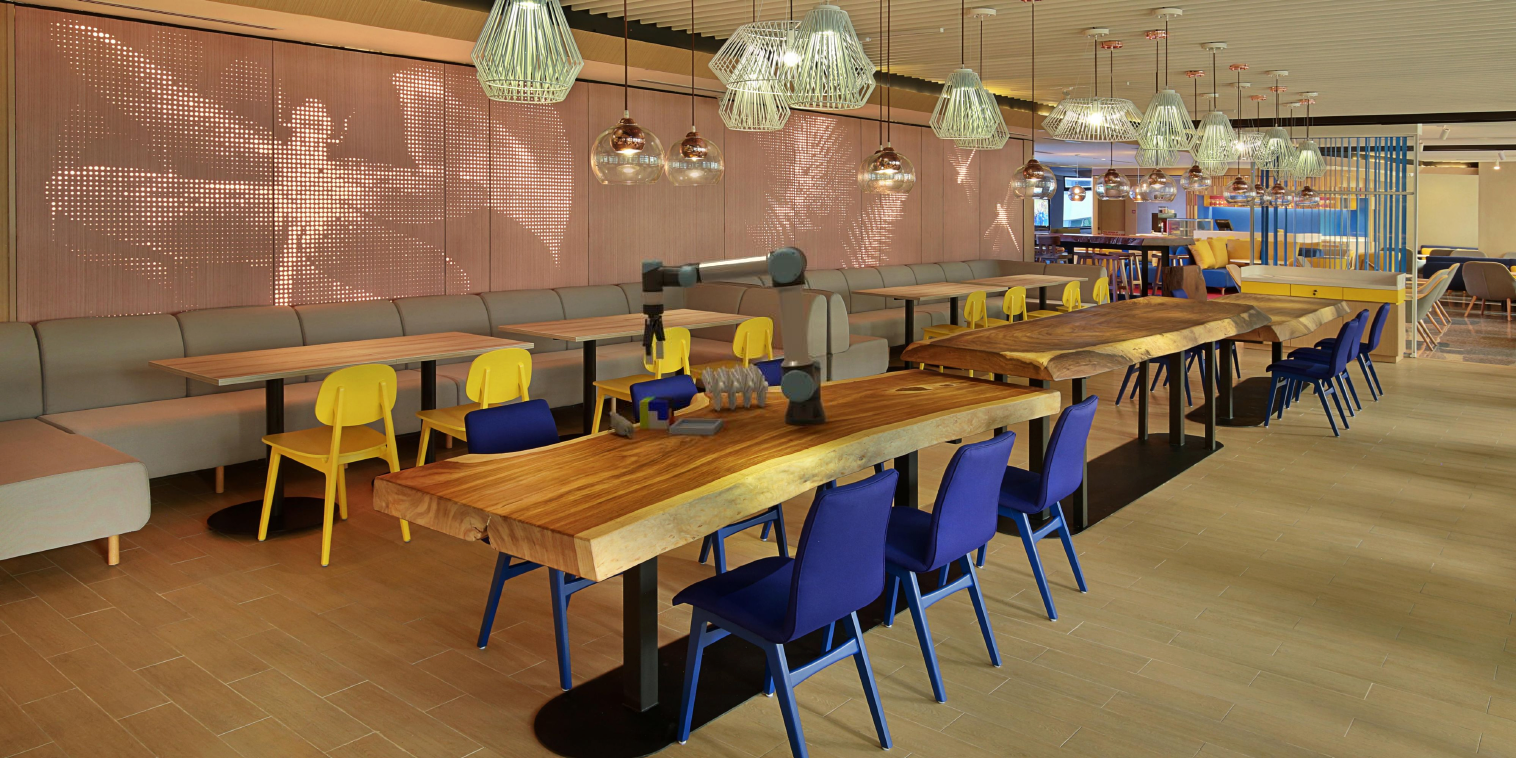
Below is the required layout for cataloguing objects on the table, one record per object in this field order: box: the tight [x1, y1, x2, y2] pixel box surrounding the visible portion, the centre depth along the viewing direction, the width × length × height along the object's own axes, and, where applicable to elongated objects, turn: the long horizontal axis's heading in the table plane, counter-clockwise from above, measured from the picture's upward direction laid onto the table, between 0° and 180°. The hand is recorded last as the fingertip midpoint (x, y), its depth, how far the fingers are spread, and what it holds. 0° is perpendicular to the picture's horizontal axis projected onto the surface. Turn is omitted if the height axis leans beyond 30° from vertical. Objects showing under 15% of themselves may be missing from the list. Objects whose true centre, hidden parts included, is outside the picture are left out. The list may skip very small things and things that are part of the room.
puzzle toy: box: [638, 396, 675, 430], centre depth 377 cm, size 10×10×10 cm
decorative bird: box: [607, 410, 635, 440], centre depth 364 cm, size 5×16×8 cm, turn 32°
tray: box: [668, 417, 724, 436], centre depth 370 cm, size 16×16×2 cm
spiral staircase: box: [701, 363, 769, 412], centre depth 406 cm, size 18×18×25 cm
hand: (654, 361), depth 374 cm, fingers open, 13 cm apart
